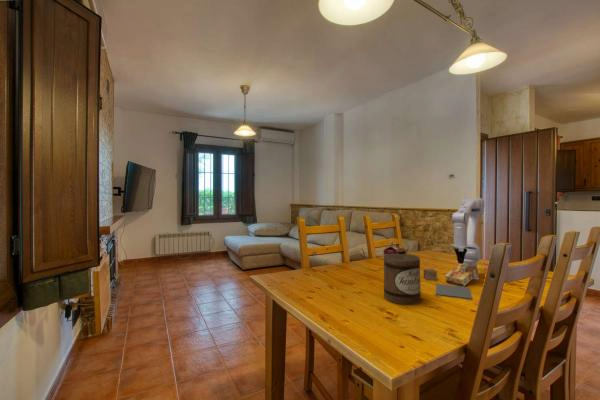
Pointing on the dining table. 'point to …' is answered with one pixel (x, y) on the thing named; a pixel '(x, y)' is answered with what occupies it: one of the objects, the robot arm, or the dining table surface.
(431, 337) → the dining table surface
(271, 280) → the dining table surface
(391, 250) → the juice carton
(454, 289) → the mat
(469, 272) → the candy box
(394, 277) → the wooden container
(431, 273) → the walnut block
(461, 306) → the dining table surface
